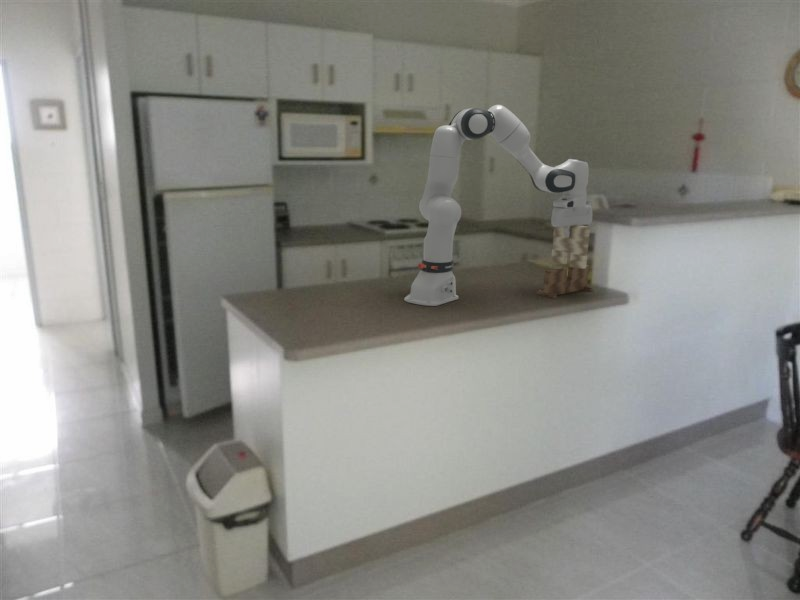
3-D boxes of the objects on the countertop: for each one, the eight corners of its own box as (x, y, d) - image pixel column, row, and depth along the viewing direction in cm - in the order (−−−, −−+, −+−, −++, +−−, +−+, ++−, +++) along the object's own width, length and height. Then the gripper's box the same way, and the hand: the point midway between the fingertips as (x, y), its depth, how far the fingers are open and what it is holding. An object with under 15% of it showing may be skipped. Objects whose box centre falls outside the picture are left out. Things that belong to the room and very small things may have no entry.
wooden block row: (552, 298, 231) (554, 273, 229) (537, 294, 238) (539, 269, 235) (592, 290, 244) (595, 266, 242) (577, 286, 251) (579, 263, 248)
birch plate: (551, 261, 244) (554, 222, 239) (554, 260, 245) (558, 221, 240) (582, 268, 231) (586, 227, 227) (586, 268, 232) (590, 227, 228)
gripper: (585, 199, 239) (581, 233, 243) (549, 201, 228) (546, 237, 232) (598, 201, 234) (594, 236, 238) (562, 203, 223) (559, 240, 227)
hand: (570, 237), depth 235 cm, fingers closed on birch plate, 2 cm apart
